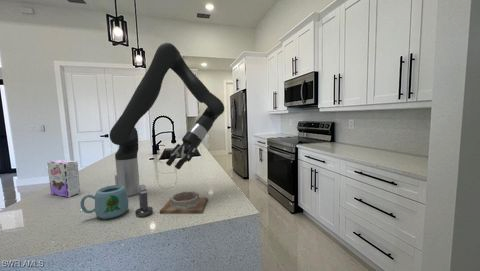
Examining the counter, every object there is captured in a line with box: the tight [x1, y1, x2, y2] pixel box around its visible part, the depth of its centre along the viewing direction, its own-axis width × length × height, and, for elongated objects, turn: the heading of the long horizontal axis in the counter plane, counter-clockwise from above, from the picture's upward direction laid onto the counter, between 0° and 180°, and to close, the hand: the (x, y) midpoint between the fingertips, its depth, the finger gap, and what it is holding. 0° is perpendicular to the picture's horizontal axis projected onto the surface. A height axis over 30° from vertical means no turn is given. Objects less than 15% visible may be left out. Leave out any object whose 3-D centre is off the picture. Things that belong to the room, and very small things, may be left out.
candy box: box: [46, 159, 81, 198], centre depth 102 cm, size 14×6×16 cm, turn 68°
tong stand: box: [159, 191, 209, 215], centre depth 85 cm, size 16×12×4 cm
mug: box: [79, 184, 130, 220], centre depth 79 cm, size 15×11×10 cm
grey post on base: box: [134, 184, 154, 219], centre depth 79 cm, size 6×6×11 cm
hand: (172, 166), depth 86 cm, fingers open, 8 cm apart
